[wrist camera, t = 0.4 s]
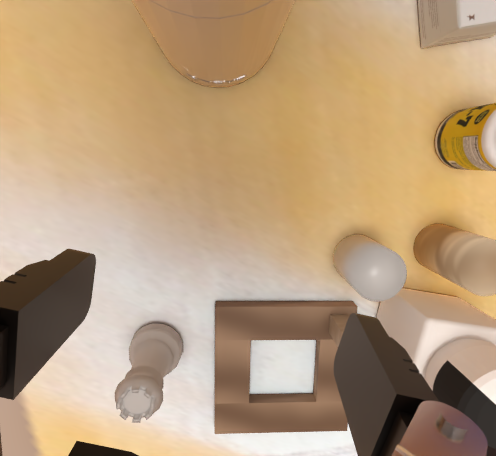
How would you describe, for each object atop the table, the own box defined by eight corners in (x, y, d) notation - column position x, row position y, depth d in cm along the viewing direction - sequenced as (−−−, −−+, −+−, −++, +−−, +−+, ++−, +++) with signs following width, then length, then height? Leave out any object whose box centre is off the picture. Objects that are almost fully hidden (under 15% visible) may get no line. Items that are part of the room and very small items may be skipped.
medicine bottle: (437, 367, 34) (549, 480, 22) (364, 357, 33) (439, 467, 21) (459, 296, 33) (590, 374, 21) (383, 283, 32) (475, 357, 20)
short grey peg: (334, 234, 31) (355, 248, 26) (380, 234, 31) (409, 248, 26) (331, 279, 32) (350, 301, 27) (376, 279, 32) (403, 301, 27)
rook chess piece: (193, 350, 32) (183, 413, 24) (151, 376, 32) (127, 446, 24) (164, 311, 31) (144, 362, 23) (121, 337, 31) (86, 397, 24)
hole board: (215, 301, 31) (211, 359, 22) (352, 301, 32) (401, 357, 23) (215, 424, 34) (210, 522, 25) (342, 421, 34) (384, 515, 25)
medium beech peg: (416, 223, 31) (465, 240, 25) (461, 223, 31) (521, 240, 25) (411, 268, 32) (457, 296, 25) (455, 268, 32) (512, 296, 26)
